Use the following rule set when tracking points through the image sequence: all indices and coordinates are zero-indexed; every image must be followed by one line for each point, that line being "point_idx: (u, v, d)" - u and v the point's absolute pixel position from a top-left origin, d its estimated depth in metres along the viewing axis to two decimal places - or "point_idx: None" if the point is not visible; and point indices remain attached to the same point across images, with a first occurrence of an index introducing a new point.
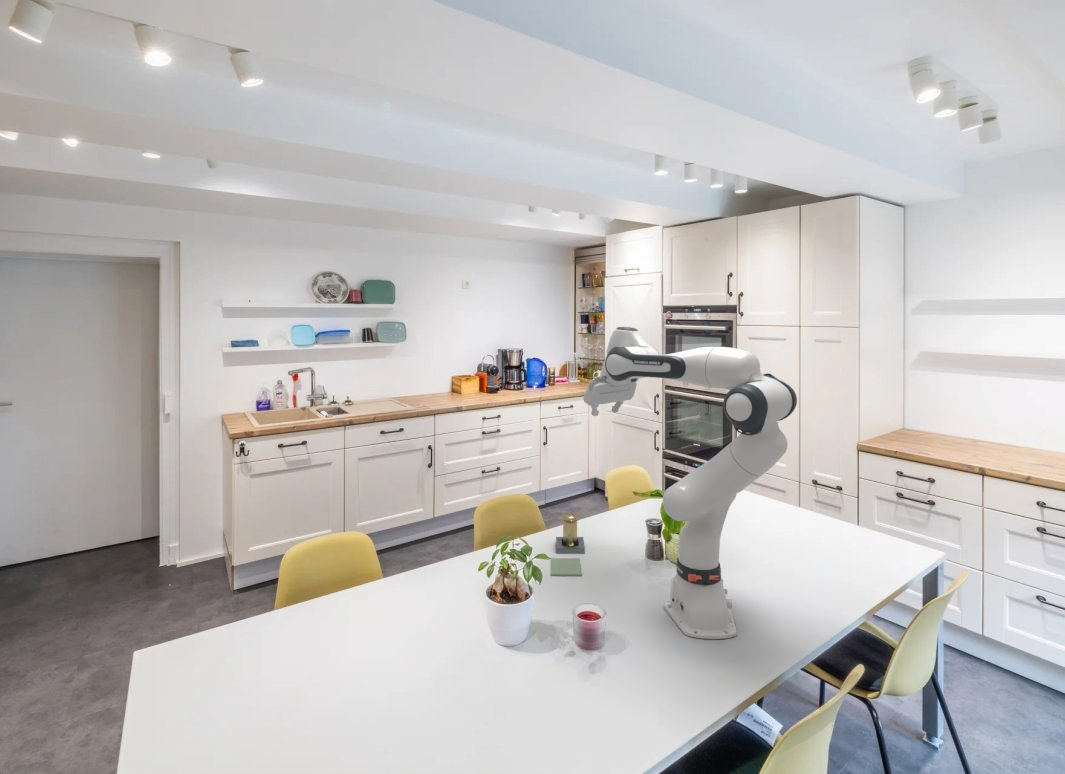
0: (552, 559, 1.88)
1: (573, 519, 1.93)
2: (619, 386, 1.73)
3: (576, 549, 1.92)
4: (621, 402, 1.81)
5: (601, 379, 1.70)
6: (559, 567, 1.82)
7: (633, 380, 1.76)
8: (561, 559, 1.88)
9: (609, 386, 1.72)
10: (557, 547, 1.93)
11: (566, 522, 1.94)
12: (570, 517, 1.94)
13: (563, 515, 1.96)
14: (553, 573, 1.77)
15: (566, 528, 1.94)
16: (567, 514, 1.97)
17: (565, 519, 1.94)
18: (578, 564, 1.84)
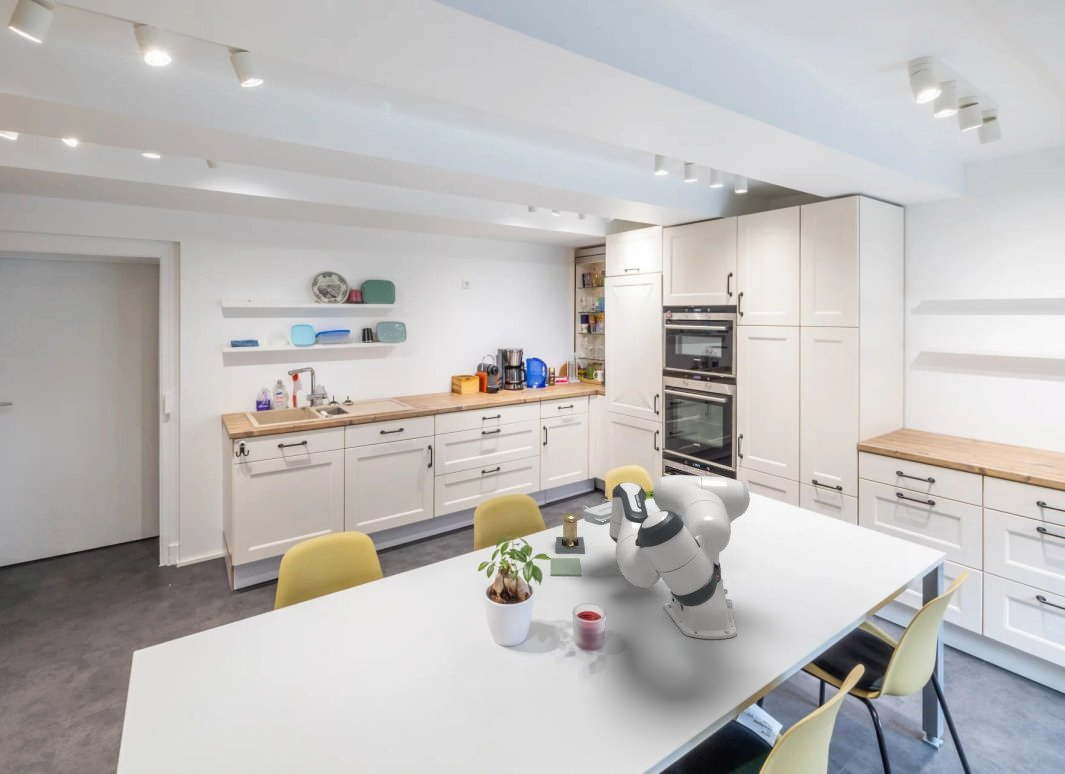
0: (552, 559, 1.88)
1: (573, 519, 1.93)
2: None
3: (576, 549, 1.92)
4: None
5: None
6: (559, 567, 1.82)
7: None
8: (561, 559, 1.88)
9: None
10: (557, 547, 1.93)
11: (566, 522, 1.94)
12: (570, 517, 1.94)
13: (563, 515, 1.96)
14: (553, 573, 1.77)
15: (566, 528, 1.94)
16: (567, 514, 1.97)
17: (565, 519, 1.94)
18: (578, 564, 1.84)
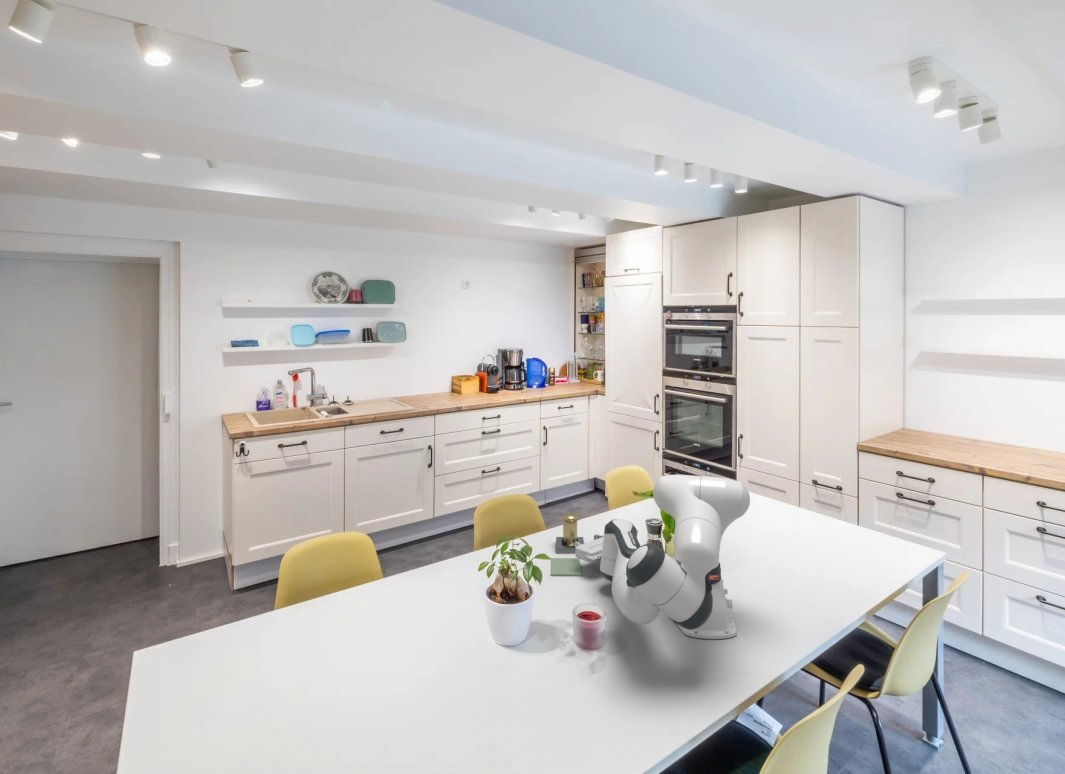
0: (552, 559, 1.88)
1: (573, 519, 1.93)
2: None
3: None
4: None
5: None
6: (559, 567, 1.82)
7: None
8: (561, 559, 1.88)
9: None
10: (557, 547, 1.93)
11: (566, 522, 1.94)
12: (570, 517, 1.94)
13: (563, 515, 1.96)
14: (553, 573, 1.77)
15: (566, 528, 1.94)
16: (567, 514, 1.97)
17: (565, 519, 1.94)
18: (578, 564, 1.84)
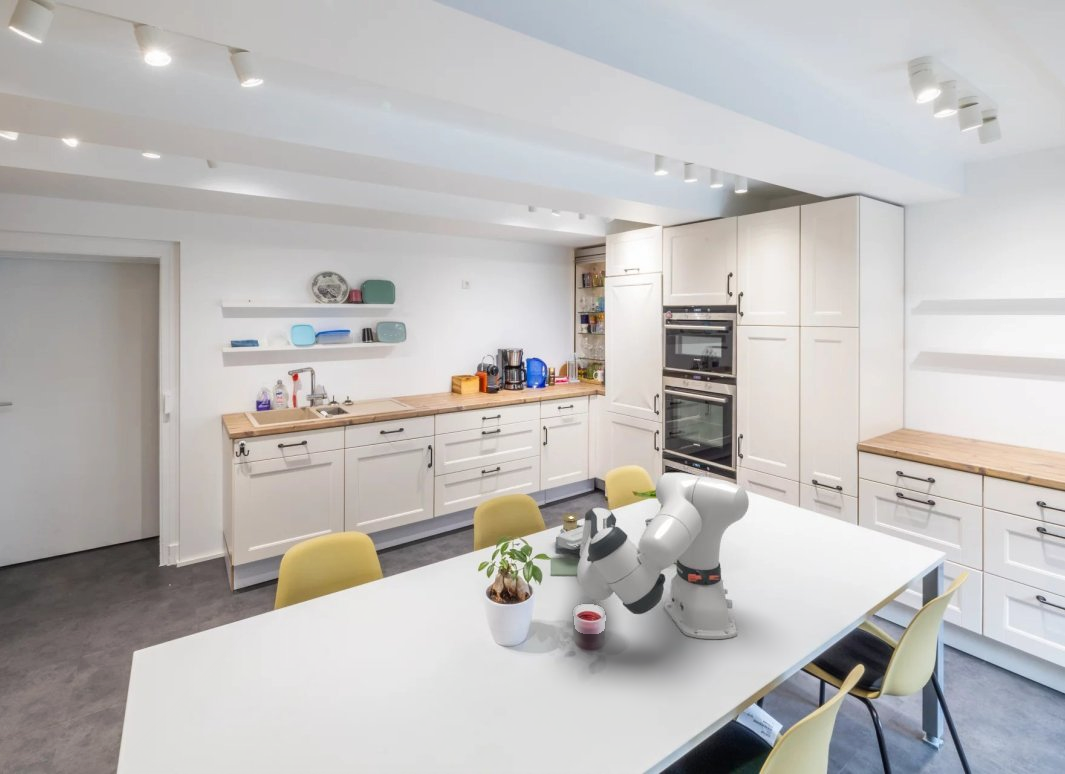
0: (552, 559, 1.88)
1: (573, 519, 1.93)
2: None
3: (576, 549, 1.92)
4: None
5: None
6: (559, 567, 1.82)
7: None
8: (561, 559, 1.88)
9: None
10: (557, 547, 1.93)
11: (566, 522, 1.94)
12: (570, 517, 1.94)
13: (563, 515, 1.96)
14: (553, 573, 1.77)
15: (566, 528, 1.94)
16: (567, 514, 1.97)
17: (565, 519, 1.94)
18: None
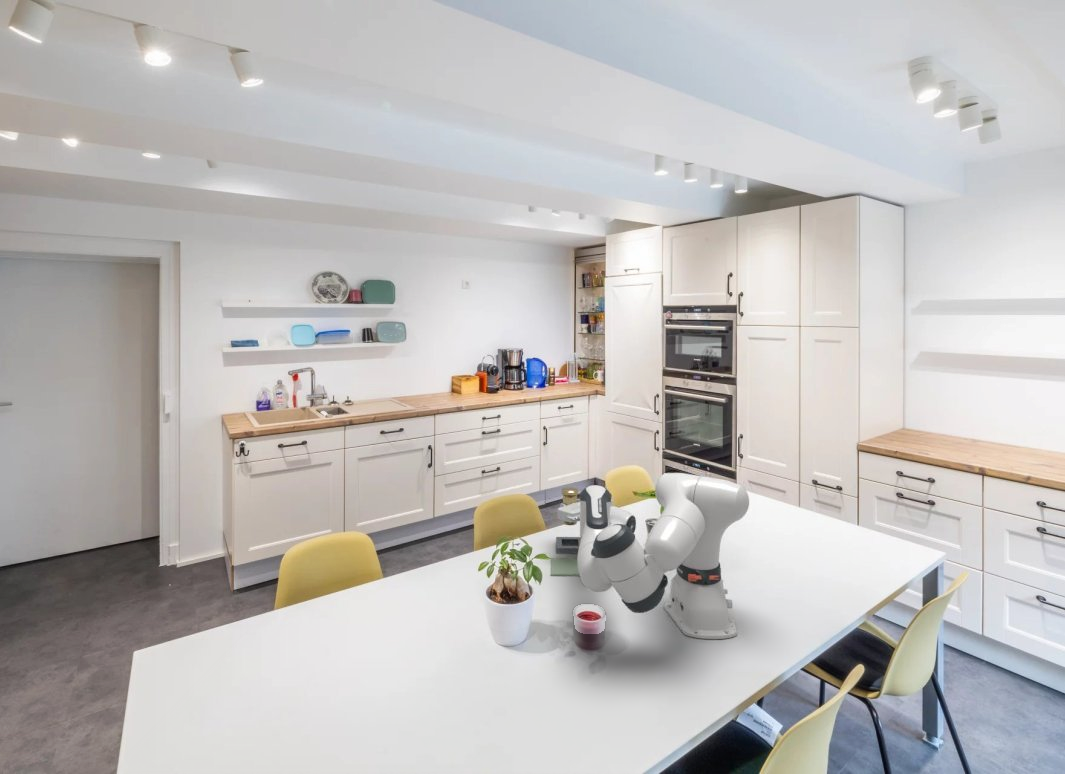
0: (552, 559, 1.88)
1: (573, 493, 1.92)
2: None
3: (576, 549, 1.92)
4: None
5: None
6: (559, 567, 1.82)
7: None
8: (561, 559, 1.88)
9: None
10: (557, 547, 1.93)
11: (565, 496, 1.93)
12: (570, 491, 1.93)
13: (563, 490, 1.95)
14: (553, 573, 1.77)
15: (566, 503, 1.93)
16: (567, 489, 1.96)
17: (565, 493, 1.92)
18: None
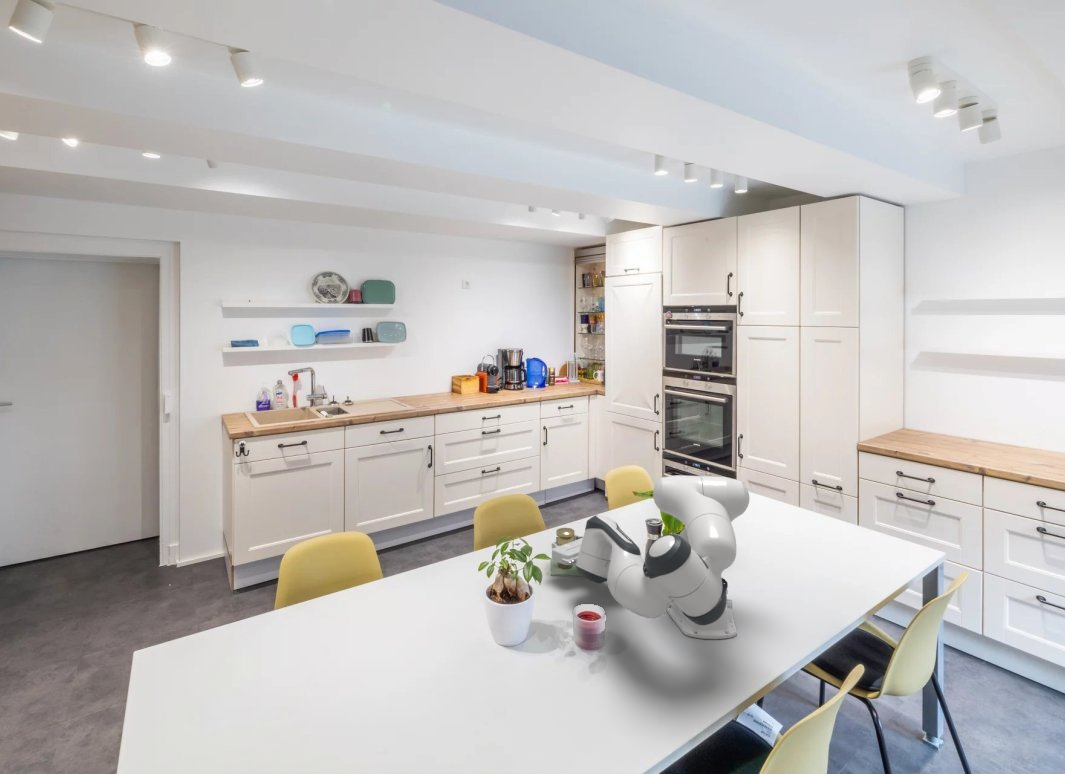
0: (552, 559, 1.88)
1: (569, 536, 1.78)
2: None
3: None
4: None
5: None
6: None
7: None
8: None
9: None
10: None
11: (561, 538, 1.79)
12: (565, 533, 1.79)
13: (558, 531, 1.81)
14: (553, 573, 1.77)
15: None
16: (562, 530, 1.82)
17: (560, 535, 1.79)
18: None
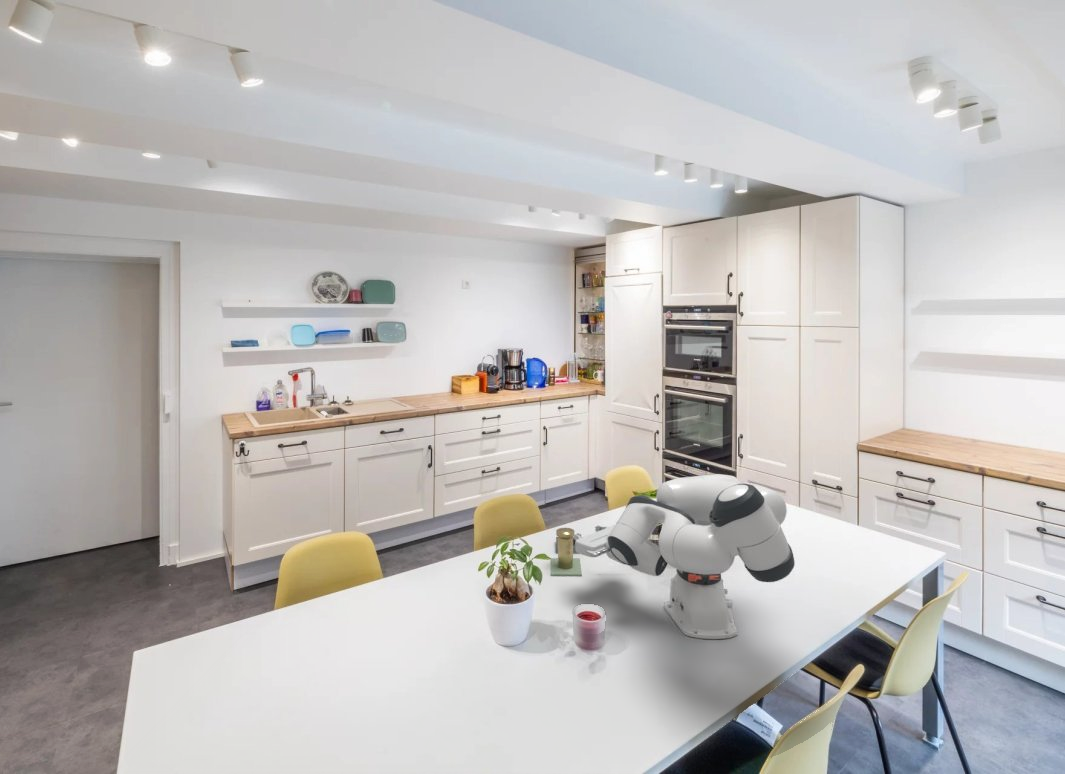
0: (552, 559, 1.88)
1: (568, 535, 1.78)
2: None
3: None
4: None
5: None
6: None
7: None
8: None
9: None
10: (557, 547, 1.93)
11: (560, 538, 1.79)
12: (565, 533, 1.79)
13: (558, 531, 1.81)
14: (553, 573, 1.77)
15: (561, 545, 1.79)
16: (562, 530, 1.82)
17: (560, 535, 1.79)
18: (578, 564, 1.84)
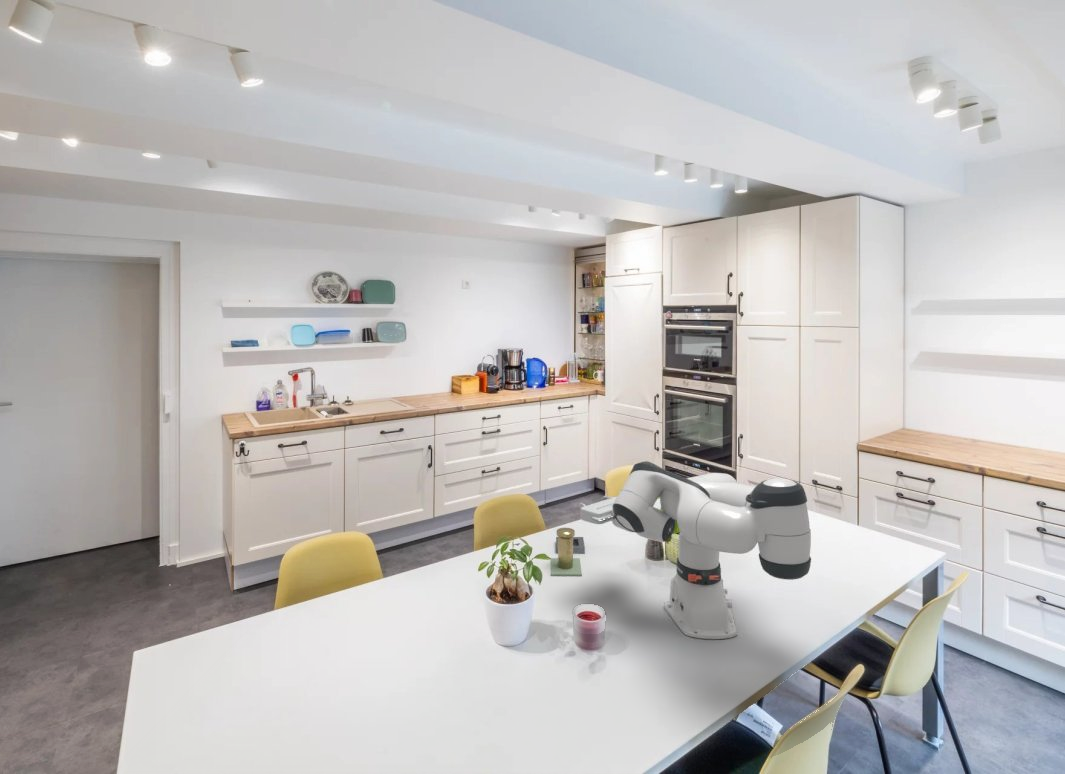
0: (552, 559, 1.88)
1: (569, 535, 1.78)
2: None
3: (576, 549, 1.92)
4: None
5: None
6: None
7: None
8: None
9: None
10: (557, 547, 1.93)
11: (561, 538, 1.79)
12: (566, 533, 1.79)
13: (558, 531, 1.81)
14: (553, 573, 1.77)
15: (561, 545, 1.80)
16: (562, 530, 1.82)
17: (560, 535, 1.79)
18: (578, 564, 1.84)
